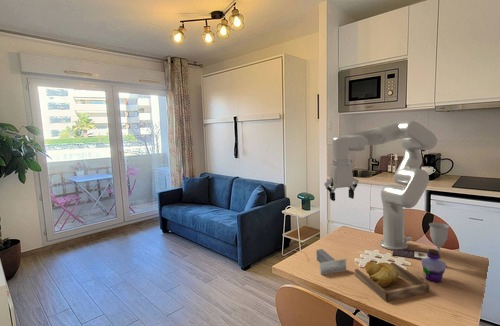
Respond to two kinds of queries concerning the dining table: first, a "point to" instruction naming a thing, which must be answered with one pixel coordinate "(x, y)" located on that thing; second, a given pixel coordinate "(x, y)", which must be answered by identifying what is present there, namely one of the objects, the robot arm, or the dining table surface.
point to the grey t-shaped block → (329, 263)
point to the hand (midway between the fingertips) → (342, 199)
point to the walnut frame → (399, 293)
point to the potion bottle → (433, 266)
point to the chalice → (438, 234)
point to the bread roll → (382, 273)
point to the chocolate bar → (410, 254)
